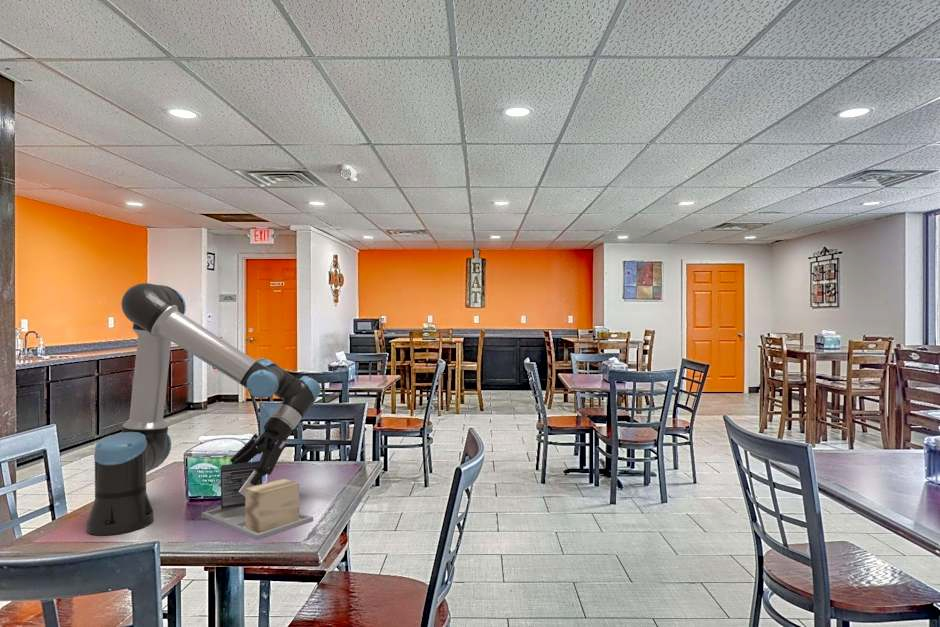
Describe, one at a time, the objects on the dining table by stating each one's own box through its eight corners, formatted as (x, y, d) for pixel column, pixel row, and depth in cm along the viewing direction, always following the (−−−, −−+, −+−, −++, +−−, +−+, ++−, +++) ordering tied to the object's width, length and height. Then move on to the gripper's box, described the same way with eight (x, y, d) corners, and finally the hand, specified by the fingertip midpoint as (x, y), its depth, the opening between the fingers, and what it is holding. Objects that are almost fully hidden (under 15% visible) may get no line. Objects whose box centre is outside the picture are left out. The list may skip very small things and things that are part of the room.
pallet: (201, 522, 153) (201, 512, 153) (255, 506, 165) (255, 497, 165) (257, 546, 136) (257, 535, 136) (313, 526, 148) (313, 517, 148)
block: (245, 528, 144) (245, 488, 144) (283, 516, 152) (283, 478, 152) (260, 534, 139) (260, 493, 140) (299, 521, 148) (299, 483, 148)
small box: (262, 497, 160) (262, 459, 160) (263, 504, 154) (262, 465, 154) (221, 502, 156) (221, 463, 156) (220, 509, 150) (220, 469, 150)
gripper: (314, 435, 160) (264, 506, 148) (268, 427, 175) (219, 491, 162) (297, 419, 156) (245, 490, 144) (252, 412, 170) (200, 476, 158)
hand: (231, 491), depth 153 cm, fingers closed on small box, 10 cm apart
